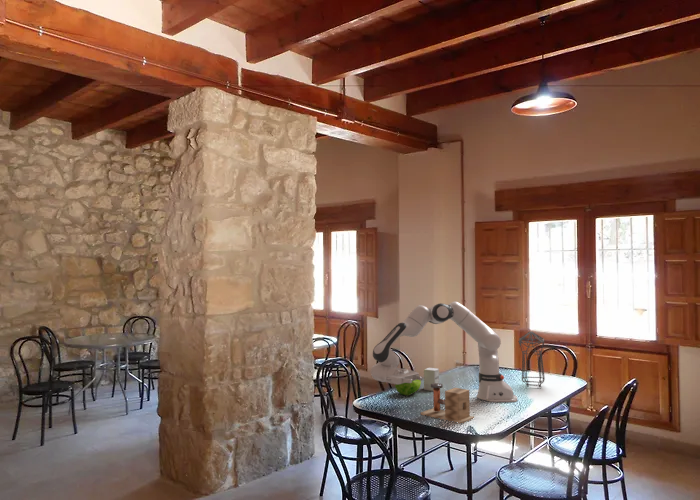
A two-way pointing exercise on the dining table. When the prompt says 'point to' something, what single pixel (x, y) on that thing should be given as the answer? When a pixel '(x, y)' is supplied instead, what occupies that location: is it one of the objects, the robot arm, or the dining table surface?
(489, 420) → the dining table surface
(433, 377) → the supplement box
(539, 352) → the geometric lantern
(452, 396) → the light wood block structure
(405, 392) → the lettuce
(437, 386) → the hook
